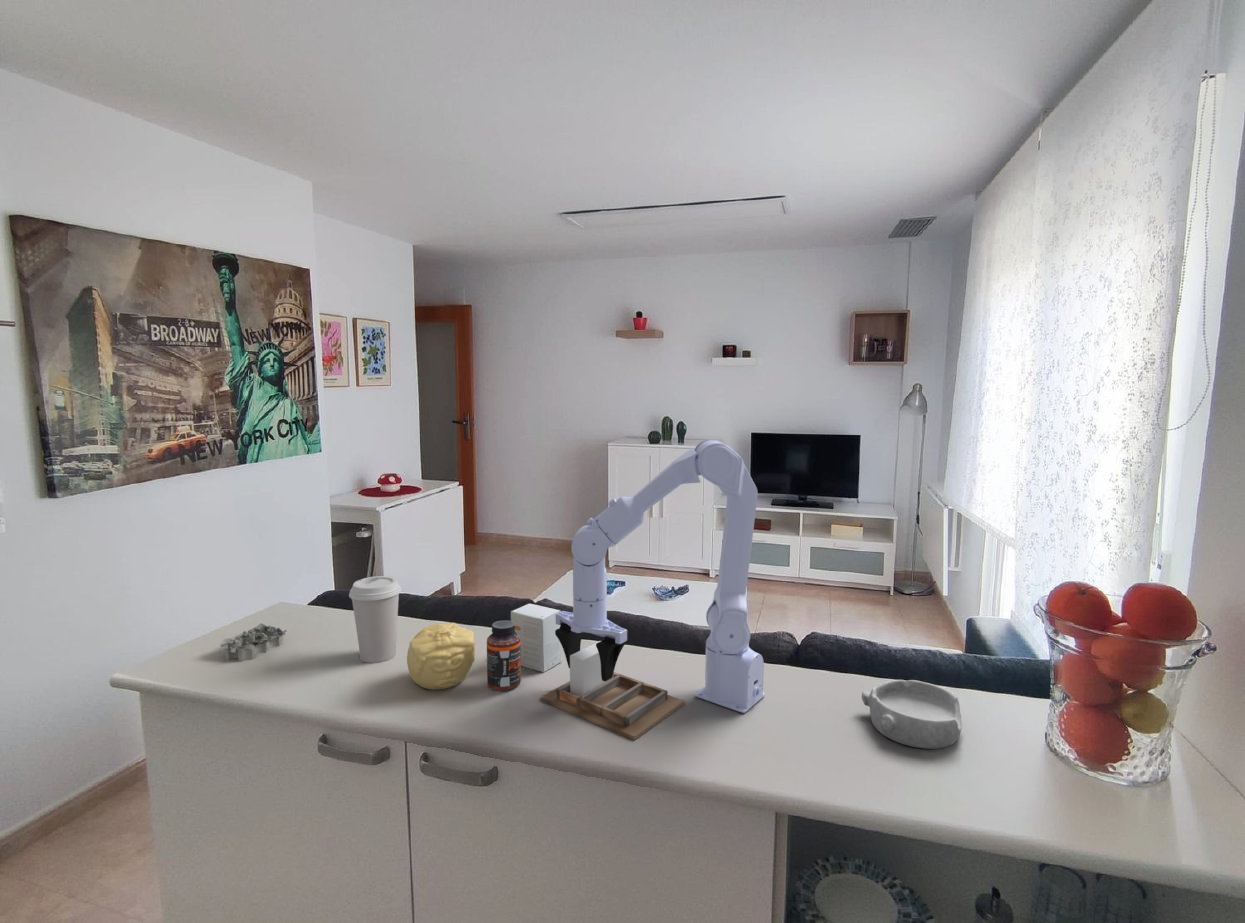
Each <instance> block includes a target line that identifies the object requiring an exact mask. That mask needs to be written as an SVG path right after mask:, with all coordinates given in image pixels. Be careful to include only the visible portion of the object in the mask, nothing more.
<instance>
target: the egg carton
mask: <svg viewBox="0 0 1245 923" xmlns="http://www.w3.org/2000/svg"><path fill="white" fill-rule="evenodd" d="M286 632H288V630H287V629H284V630H281V627H277V628H276V626H272V625H268V626H267V625H266V624H264V623H259V624H258V625H256V626H255V627H253V628H251V629H248V630H247V631H246V630H244V631H243V632H241V633H240V634H237V635H235V636H234V637H231V638H230V637H229V638H225V639H223V640H222V641H221V643H220V644H219V648H223V651H224V658H225V660H231V659H235V658H236V659H237V658H238V662H245V661H249V660H255V659H256V658H257V655H259V654H263V653H268V652H270V651H271V648H275V647H281V646H282V645H284V638H283V637H285V636H286Z"/></svg>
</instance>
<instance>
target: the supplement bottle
mask: <svg viewBox="0 0 1245 923" xmlns="http://www.w3.org/2000/svg"><path fill="white" fill-rule="evenodd" d="M486 674H487V675H486V676H487V682H486V683H487V687H488V688H489V689H491V691H492V690H493V691H496V692H509V691H512V690H514V689H516V688H518V687H519V686H520V684H521V682H522V676H521V675H522V666H521V644H520V636H519V635H518V634H517V633H516V632H515V623H514V622H512V621H511V620H497V621H494V622H493V623H492V624H491V634H489V636H488V637H487V638H486Z"/></svg>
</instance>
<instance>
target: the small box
mask: <svg viewBox="0 0 1245 923" xmlns="http://www.w3.org/2000/svg"><path fill="white" fill-rule="evenodd" d="M559 612H561V609H555V608H552V607H551V608H550V607H547V606H542V605H539V604H533V603H527V604H525V605H523V606H520V607H518V608H516V609H514V610H510V621H512V622H514V623H515V632H516V633H517V634H518V635H519V636H520V644H521V667H523V666H524V667H523V668H527V669H530V670H533V669H535V670H534V671H537V672H540V671H541V672H540V673H545V671H546V672H547V671H549V670H550V669H552V668H554V667H555V666H557V665H558V664H560V663H562V660H563V659H562V657H563V656H562V645H561V643H560V641H559V639H558V638H557V636H556V635H555V630H557V629H559V628H560V626H561V625H557V624H556V613H559ZM548 669H549V670H548Z"/></svg>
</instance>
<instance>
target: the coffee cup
mask: <svg viewBox="0 0 1245 923" xmlns="http://www.w3.org/2000/svg"><path fill="white" fill-rule="evenodd" d="M401 592H402V587H401V585H400V583H399V582H398V580H397V579H396V578H395V577H393V576H387V575H386V576H385V575H383V576H381V575H380V576H379V575H378V576H369V577H364V578H361V579H358V580H356V581H354V582H353V584H352V587H351V589H350V591H349V592H348V593H349V594H348V596H349V598H350V599H351V603H352V608H353V616H354V622H355V629H356V634H357V642H358V649H359V656H360V660H361V661H362V662H365V663H368V664H369V663H370V664H371V663H372V664H374V663H375V664H376V663H382V662H386V661H388V660H390V659H392V658H394V657H395V656H396V654H397V637H398V635H397V634H398V617H399V616H398V615H399V598H400V597H399V595H400V593H401Z"/></svg>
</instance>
